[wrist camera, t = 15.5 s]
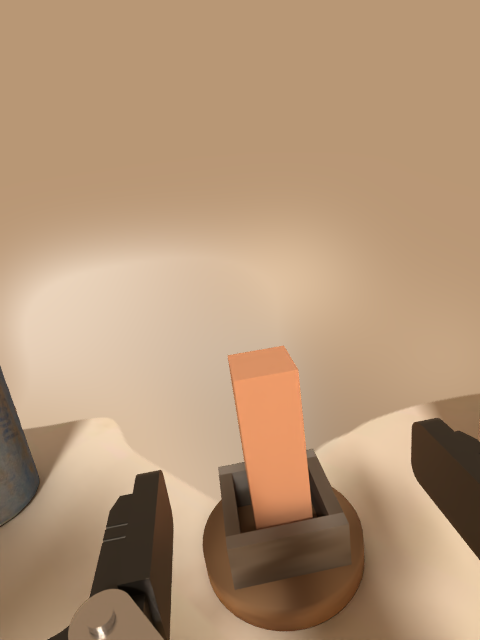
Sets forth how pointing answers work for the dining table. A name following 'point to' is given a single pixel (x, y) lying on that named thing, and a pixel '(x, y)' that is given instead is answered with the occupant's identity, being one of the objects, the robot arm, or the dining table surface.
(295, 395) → the post
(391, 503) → the dining table surface
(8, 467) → the bottle
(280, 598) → the block holder stand
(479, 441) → the cylinder vase
